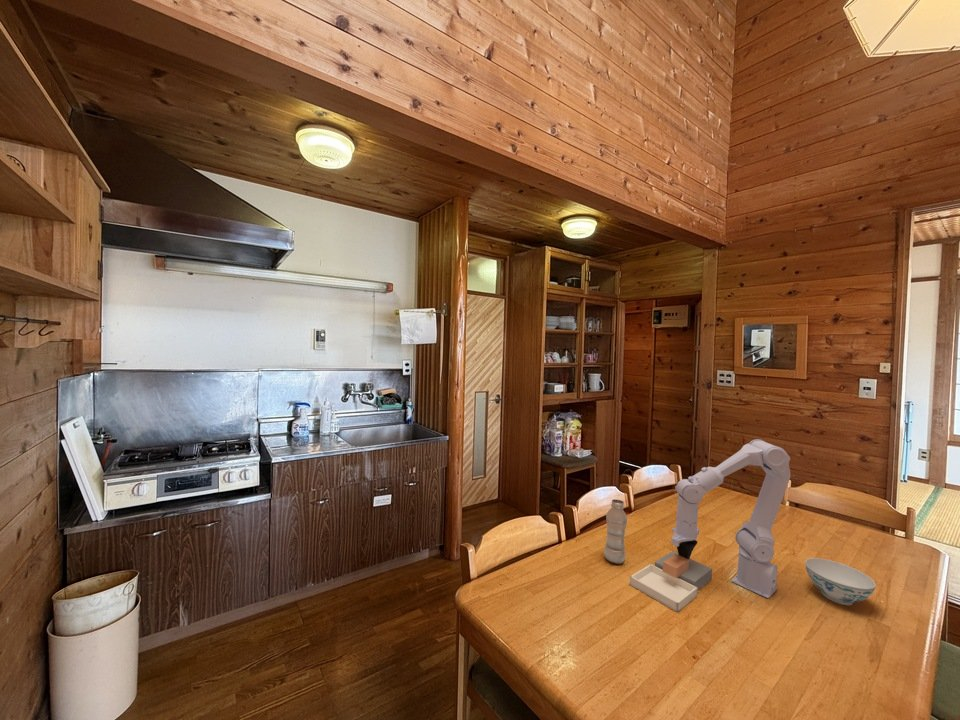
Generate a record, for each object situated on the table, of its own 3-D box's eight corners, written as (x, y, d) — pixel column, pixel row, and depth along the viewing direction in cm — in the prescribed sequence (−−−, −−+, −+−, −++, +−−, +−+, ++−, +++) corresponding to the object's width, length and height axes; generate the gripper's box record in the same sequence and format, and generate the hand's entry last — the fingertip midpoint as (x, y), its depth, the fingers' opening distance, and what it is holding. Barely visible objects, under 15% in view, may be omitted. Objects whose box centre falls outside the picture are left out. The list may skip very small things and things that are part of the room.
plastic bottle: (626, 568, 121) (630, 506, 120) (604, 564, 122) (608, 504, 121) (623, 557, 127) (626, 499, 126) (602, 554, 128) (606, 496, 128)
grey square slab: (711, 579, 117) (712, 568, 116) (694, 593, 109) (695, 581, 109) (672, 561, 126) (673, 550, 126) (654, 572, 119) (654, 561, 119)
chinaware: (862, 593, 113) (864, 568, 113) (882, 623, 100) (885, 595, 100) (798, 576, 121) (800, 552, 121) (809, 602, 108) (812, 576, 108)
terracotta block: (682, 573, 113) (683, 563, 113) (676, 578, 111) (676, 568, 110) (669, 566, 116) (669, 557, 116) (662, 571, 114) (663, 561, 114)
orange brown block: (688, 569, 116) (689, 559, 115) (682, 573, 113) (683, 563, 113) (675, 562, 119) (675, 553, 119) (669, 566, 116) (669, 557, 116)
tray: (697, 596, 108) (697, 587, 108) (677, 612, 101) (678, 603, 101) (650, 571, 119) (650, 563, 119) (629, 584, 112) (630, 576, 112)
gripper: (684, 509, 125) (681, 549, 125) (662, 519, 116) (659, 562, 117) (707, 517, 119) (704, 559, 120) (686, 529, 110) (683, 574, 111)
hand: (683, 561), depth 118 cm, fingers closed
